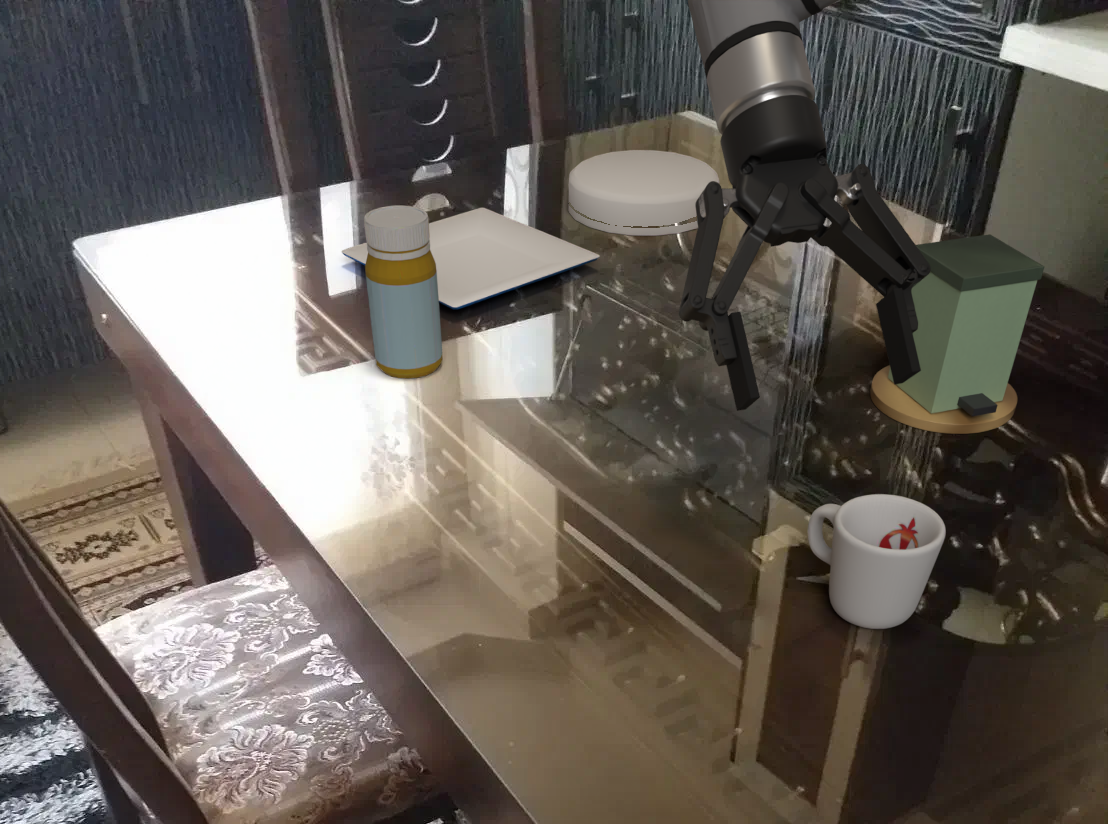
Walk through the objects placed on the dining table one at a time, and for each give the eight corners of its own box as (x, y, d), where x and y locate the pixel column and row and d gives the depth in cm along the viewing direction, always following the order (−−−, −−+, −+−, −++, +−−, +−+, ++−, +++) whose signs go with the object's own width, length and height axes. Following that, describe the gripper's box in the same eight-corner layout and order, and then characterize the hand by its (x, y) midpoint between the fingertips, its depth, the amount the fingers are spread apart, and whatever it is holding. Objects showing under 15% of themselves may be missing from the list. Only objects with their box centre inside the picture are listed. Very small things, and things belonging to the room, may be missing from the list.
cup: (769, 590, 91) (783, 502, 86) (834, 553, 95) (851, 467, 89) (878, 655, 85) (900, 565, 80) (943, 613, 89) (969, 524, 83)
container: (644, 248, 144) (646, 209, 141) (537, 207, 154) (536, 170, 151) (748, 209, 153) (752, 172, 150) (640, 174, 164) (642, 138, 161)
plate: (341, 266, 140) (339, 249, 138) (483, 222, 151) (482, 205, 149) (455, 324, 128) (454, 305, 126) (601, 271, 138) (601, 253, 137)
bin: (884, 377, 116) (912, 244, 107) (956, 365, 117) (990, 233, 108) (944, 426, 108) (979, 288, 99) (1020, 412, 110) (1061, 276, 101)
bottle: (454, 358, 122) (445, 209, 111) (422, 385, 117) (409, 233, 107) (397, 346, 124) (383, 199, 113) (363, 373, 119) (345, 223, 109)
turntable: (978, 363, 120) (981, 354, 119) (1039, 427, 110) (1042, 418, 109) (850, 373, 119) (852, 363, 118) (900, 439, 109) (902, 429, 108)
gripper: (886, 131, 94) (944, 384, 94) (600, 163, 88) (662, 431, 88) (937, 74, 87) (999, 348, 87) (629, 105, 81) (696, 398, 81)
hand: (829, 391), depth 88 cm, fingers open, 13 cm apart
